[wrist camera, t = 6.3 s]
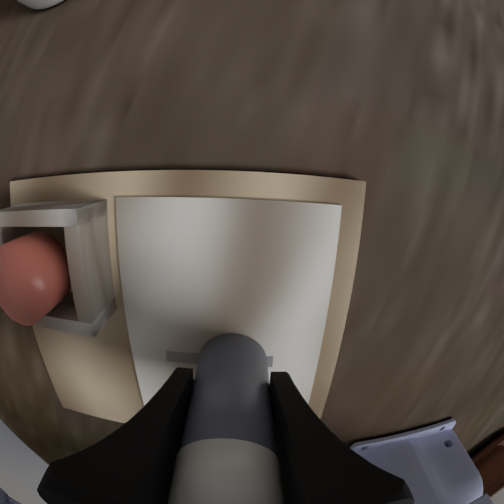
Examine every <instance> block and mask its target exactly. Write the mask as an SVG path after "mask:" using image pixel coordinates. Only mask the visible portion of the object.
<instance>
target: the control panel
mask: <svg viewBox="0 0 504 504" xmlns="http://www.w3.org/2000/svg"><path fill="white" fill-rule="evenodd" d="M365 189H366V181H359V180H350V179H342V178H332V177H322V176H311V175H300V174H286V173H271V172H253V171H228V170H138V171H114V172H97V173H83V174H70V175H59V176H49V177H40V178H32V179H24V180H16V181H10V200H11V207H8V208H5V209H1V210H0V246H1V245H3V244H5V243H7V242H10V241H12V240H14V239H17V238H19V237H22V236H24V235H26V234H29V233H31V232H34V231H42V232H46V233H48V234H50V235H51V236H53V237H54V238H55V239H56V240H57V241H58V242H59V243H60V245H61V246H62V247H63V249H64V251H65V252H66V254H67V261H68V268H69V275H70V281H71V289H70V291H69V293H68V295H67V296H66V298H65V299H63V300H62V301H61V302H60V303H59V304H58V305H56V306H55V307H54V308H53V309H52V310H51V311H50V312H48V313H47V314H46V315H45V316H44V317H43V318H42V319H41V320H39V321H38V322H37V323H36V324H34V325H32V327H33V331H34V334H35V337H36V340H37V343H38V346H39V349H40V352H41V355H42V358H43V361H44V363H45V366H46V369H47V371H48V374H49V376H50V379H51V381H52V384H53V386H54V388H55V391H56V393H57V395H58V398H59V400H60V402H61V404H62V406H63V407H64V408H67V409H70V410H74V411H77V412H81V413H84V414H88V415H91V416H95V417H99V418H103V419H107V420H112V421H116V422H121V423H126V422H127V421H129V420H130V419H131V418H132V417H133V416H134V415H135V414H136V413H137V412H138V411H139V410H140V409H142V408H143V407H144V406H145V405H146V404H147V403H148V402H149V400H150V399H151V398H152V397H153V396H154V395H155V394H156V393H157V391H158V390H159V389H160V388H161V387H162V386H163V384H164V383H165V382H166V381H167V379H168V378H169V377H170V375H171V374H172V373H173V371H174V370H175V369H176V368H177V367H181V368H193V377H195V373H196V368H197V364H198V359H199V355H200V351H201V349H202V347H203V346H204V344H205V343H206V342H207V341H209V340H210V339H212V338H214V337H216V336H218V335H222V334H230V333H234V334H241V335H245V336H248V337H250V338H252V339H254V340H255V341H256V342H258V343H259V344H260V345H261V346H262V348H263V349H264V351H265V354H266V358H267V367H268V376H269V384H270V375H271V372H287V373H289V375H290V377H291V379H292V380H293V382H294V384H295V386H296V387H297V389H298V390H299V392H300V393H301V395H302V396H303V398H304V399H305V401H306V402H307V403H308V405H309V406H310V407H311V409H312V410H313V411H314V413H315V414H316V415H317V416H318V417H319V419H321V416H322V412H323V409H324V406H325V402H326V399H327V396H328V392H329V388H330V385H331V381H332V377H333V374H334V370H335V366H336V362H337V358H338V354H339V350H340V345H341V341H342V337H343V332H344V327H345V323H346V318H347V313H348V308H349V303H350V298H351V292H352V287H353V281H354V275H355V269H356V263H357V256H358V249H359V242H360V235H361V227H362V218H363V209H364V200H365ZM11 320H12V319H11Z"/></svg>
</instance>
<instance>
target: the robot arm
mask: <svg viewBox="0 0 504 504" xmlns="http://www.w3.org/2000/svg"><path fill="white" fill-rule="evenodd" d="M193 382H194V377H193V368H181V367H177V368H176V369H175V370H174V371H173V373H172V374H171V375H170V377H169V378H168V379H167V381H166V382H165V383H164V384H163V386H162V387H161V388H160V389H159V390H158V391H157V393H156V394H155V395H154V396H153V397H152V398H151V399H150V400H149V402H148V403H147V404H146V405H145V406H144V407H143V408H142V409H140V410H139V411H138V412H137V413H136V414H135V415H134V416H133V417H132V418H131V419H130V420H129V421H127V422H126V423H125V424H124V425H122V426H121V427H120V428H119V429H117V430H116V431H114V432H113V433H111V434H110V435H109V436H107V437H106V438H104V439H102V440H101V441H99V442H97V443H96V444H94V445H92V446H90V447H88V448H86V449H84V450H82V451H80V452H78V453H76V454H73V455H71V456H68V457H65V458H63V459H60V460H57V461H54V462H51V464H50V465H49V467H48V468H47V470H46V472H45V474H44V476H43V478H42V480H41V482H40V484H39V486H38V489H37V491H38V493H39V495H40V496H41V498H42V499H43V500H44V501H45V502H46V503H47V504H168V499H169V494H170V488H171V483H172V478H173V472H174V467H175V462H176V457H177V454H178V452H179V450H180V445H181V440H182V435H183V430H184V425H185V420H186V415H187V410H188V405H189V401H190V396H191V391H192V387H193ZM269 386H270V395H271V404H272V413H273V423H274V432H275V442H276V451H277V457H278V459H279V464H280V473H281V482H282V492H283V501H284V504H493V502H492V501H491V499H490V497H489V495H488V494H484V495H483V482H482V478H481V475H480V473H479V471H478V470H477V468H476V466H475V465H474V463H473V461H472V460H471V458H470V456H469V455H468V453H467V452H466V450H465V448H464V447H463V445H462V444H461V442H460V440H459V439H458V437H457V436H456V434H455V433H454V431H453V430H452V428H453V427H454V425H455V423H456V421H455V419H450V420H447V421H443V422H440V423H437V424H434V425H431V426H427V427H424V428H420V429H416V430H413V431H409V432H405V433H401V434H396V435H392V436H387V437H383V438H378V439H372V440H367V441H361V442H356V443H354V444H352V445H351V447H350V448H349V447H348V446H347V445H346V444H344V443H343V442H342V441H341V440H340V439H339V438H338V437H337V436H336V435H334V434H333V433H332V432H331V431H330V430H329V429H328V428H327V426H326V425H325V424H324V423H323V422H322V421H321V420H320V419H319V417H318V416H317V415H316V414H315V413H314V411H313V410H312V409H311V407H310V406H309V405H308V403H307V402H306V401H305V399H304V398H303V396H302V395H301V393H300V392H299V390H298V389H297V387H296V386H295V384H294V382H293V380H292V379H291V377H290V375H289V373H287V372H271V375H270V384H269ZM0 504H21V503H19V502H17V501H15V500H14V499H12V498H10V497H9V496H8V495H7V493H5V492H4V491H3V490H2V489H1V488H0Z"/></svg>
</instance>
